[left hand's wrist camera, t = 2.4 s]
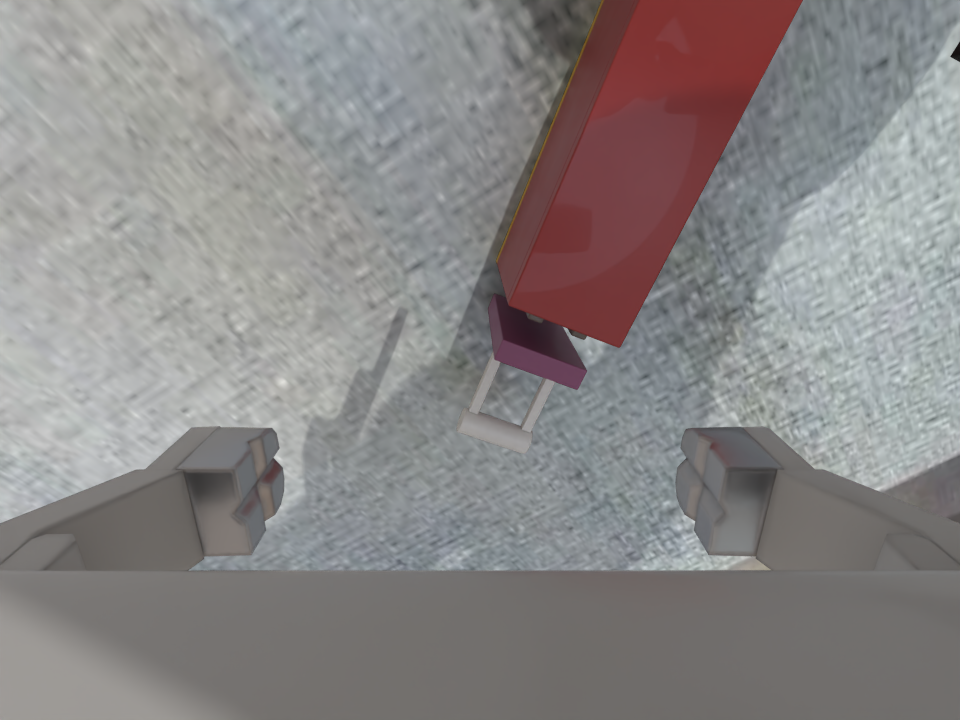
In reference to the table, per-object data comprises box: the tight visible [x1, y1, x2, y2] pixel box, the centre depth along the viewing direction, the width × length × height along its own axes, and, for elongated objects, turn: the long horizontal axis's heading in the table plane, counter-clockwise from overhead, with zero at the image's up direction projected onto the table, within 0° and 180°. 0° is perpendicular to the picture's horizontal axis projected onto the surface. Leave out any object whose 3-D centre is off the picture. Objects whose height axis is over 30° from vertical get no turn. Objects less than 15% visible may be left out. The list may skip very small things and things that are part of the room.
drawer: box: [457, 294, 587, 454], centre depth 29 cm, size 25×5×10 cm, turn 158°
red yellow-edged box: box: [496, 0, 803, 348], centre depth 26 cm, size 20×6×11 cm, turn 158°
